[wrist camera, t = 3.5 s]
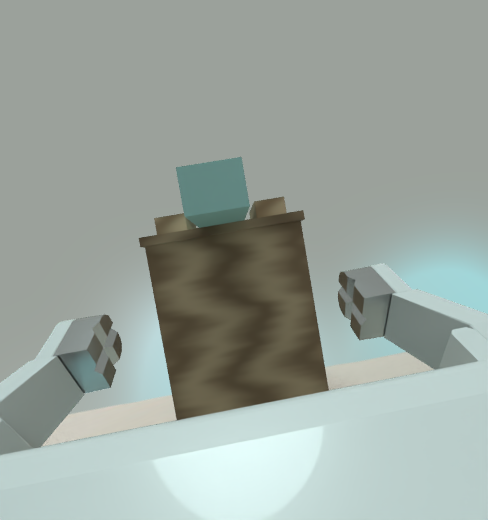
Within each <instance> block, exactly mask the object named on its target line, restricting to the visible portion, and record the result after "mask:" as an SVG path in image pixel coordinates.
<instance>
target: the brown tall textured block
mask: <svg viewBox="0 0 488 520" xmlns="http://www.w3.org/2000/svg"><path fill="white" fill-rule="evenodd" d="M304 219H305V218H304V213H303V210H302V211H297V212H290V213H286V207H285V201H284V197H279V198H273V199H267V200H261V201H255V202H254V204H253V206H252V208H251V210H250V219H249V220H243V221H237V222H231V223H225V224H219V225H213V226H207V227H201V228H196V225H195V224H194V223H192V222H191V221H190V220H188V219H187V218H186V217H185V216H184V213H183V214H177V215H171V216H165V217H159V218H154V220H155V225H156V231H157V235H154V236H148V237H142V238H139V242H140V247H145V249H146V255H147V260H148V266H149V271H150V277H151V282H152V287H153V293H154V298H155V303H156V309H157V314H158V320H159V325H160V331H161V336H162V341H163V347H164V353H165V358H166V363H167V369H168V374H169V380H170V385H171V390H172V396H173V402H174V407H175V412H176V418H177V420H181V419H186V418H191V417H196V416H202V415H207V414H212V413H217V412H222V411H227V410H232V409H237V408H242V407H247V406H253V405H258V404H263V403H268V402H273V401H278V400H283V399H288V398H293V397H298V396H304V395H309V394H314V393H319V392H324V391H329V390H328V384H327V378H326V372H325V365H324V360H323V354H322V347H321V341H320V336H319V329H318V323H317V317H316V312H315V305H314V300H313V293H312V287H311V281H310V275H309V269H308V262H307V256H306V251H305V245H304V239H303V232H302V226H301V220H304Z"/></svg>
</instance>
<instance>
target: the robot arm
mask: <svg viewBox="0 0 488 520" xmlns="http://www.w3.org/2000/svg"><path fill="white" fill-rule="evenodd" d="M339 283H340V284H341V285H342V287H341V289H340V290H339V291H338V301H339V306H340V309H341V311H342V313H343V315H344V316H345V317H346V318H348V319H350V320H351V325H350V326H351V328H352V329H353V331H354V333H355V334H356V336H357V337H358V339H359V340H364V339H371V338H376V337H383V336H384V338H386V339H388V340H389V341H391V342H392V343H394V344H395V345H397V346H398V347H400V348H402V349H403V350H405V351H406V352H408V353H409V354H411V355H413V356H414V357H416V358H417V359H419V360H420V361H422V362H424V363H425V364H427V365H428V366H430V367H431V368H433V369H435V370H431V371H426V372H421V373H416V374H411V375H406V376H401V377H395V378H390V379H385V380H380V381H375V382H370V383H365V384H360V385H355V386H349V387H344V388H339V389H334V390H329V391H324V392H319V393H314V394H309V395H304V396H298V397H293V398H288V399H283V400H278V401H273V402H268V403H263V404H258V405H253V406H247V407H242V408H237V409H232V410H227V411H222V412H217V413H212V414H207V415H202V416H196V417H191V418H186V419H181V420H176V421H171V422H166V423H161V424H156V425H150V426H145V427H140V428H135V429H130V430H125V431H120V432H115V433H110V434H105V435H100V436H94V437H89V438H84V439H79V440H74V441H69V442H64V443H59V444H54V445H49V446H43V447H41V446H42V445H43V443H44V442H45V441H46V440H47V439H48V437H49V436H50V435H51V434H52V433H53V432H54V430H55V429H56V428H57V427H58V426H59V424H60V423H61V422H62V421H63V420H64V418H65V417H66V416H67V415H68V414H69V413H70V411H71V410H72V409H73V408H74V407H75V405H76V404H77V403H78V402H79V400H80V399H81V398H82V397H83V396H84V393H89V392H93V391H98V390H102V389H107V388H110V387H111V385H112V382H113V378H114V375H115V372H116V369H115V368H114V366H113V365H114V364H115V363H116V362H117V361H118V360H119V359H120V356H121V352H122V343H121V339H120V337H119V334H118V332H116V331H115V330H113V329H111V326H112V323H113V322H112V321H111V319H110V317H109V316H108V315H99V316H92V317H86V318H80V319H76V320H68V321H62V322H60V323H58V324H57V325H56V327H55V328H54V330H53V332H52V333H51V335H50V337H49V338H48V340H47V341H46V343H45V344H44V346H43V347H42V349H41V351H40V352H39V354H38V355H37V357H36V359H35V360H32V361H29V362H28V363H26V364H25V365H24V366H22V367H21V368H20V369H18V370H17V371H16V372H14V373H13V374H12V375H10V376H9V377H8V378H6V379H5V380H4V381H2V382H1V383H0V520H488V314H486V313H483V312H480V311H478V310H475V309H472V308H469V307H466V306H463V305H461V304H458V303H455V302H452V301H449V300H446V299H444V298H441V297H438V296H435V295H432V294H429V293H427V292H424V291H421V290H418V289H415V290H412V289H411V288H410V287H409V286H408V285H407V284H406V283H405V282H404V281H403V280H401V278H400V277H398V276H397V275H396V274H395V273H394V272H393V271H392V270H391V269H390V268H389V267H388V266H387V265H386V264H383V263H382V264H377V265H373V266H368V267H365V268H360V269H354V270H348V271H343V272H341V273H340V275H339Z"/></svg>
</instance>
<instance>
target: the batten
mask: <svg viewBox="0 0 488 520" xmlns="http://www.w3.org/2000/svg"><path fill="white" fill-rule="evenodd" d="M176 171H177V177H178V182H179V188H180V193H181V198H182V205H183V210H184V216H185V217H186V218H187V219H188V220H190V221H191V222H192V223H194V224H195V225H196V226H198V227H199V228H201V227H207V226H213V225H219V224H225V223H231V222H237V221H243V220H245V217H246V214H247V212H248V209H249V207H250V204H249V199H248V193H247V187H246V181H245V175H244V170H243V164H242V158H241V157H238V158H232V159H226V160H219V161H213V162H207V163H201V164H194V165H189V166H182V167H176Z"/></svg>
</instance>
